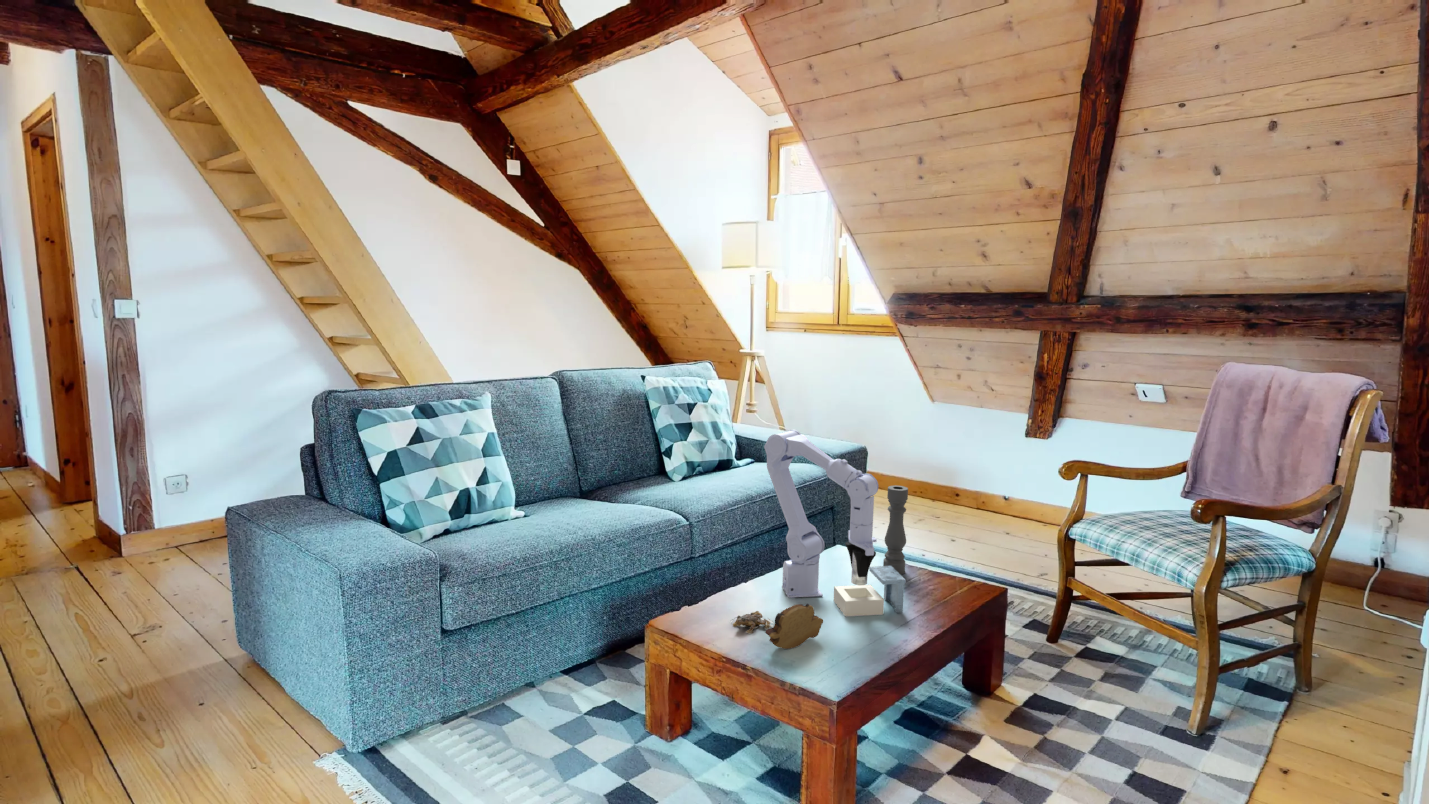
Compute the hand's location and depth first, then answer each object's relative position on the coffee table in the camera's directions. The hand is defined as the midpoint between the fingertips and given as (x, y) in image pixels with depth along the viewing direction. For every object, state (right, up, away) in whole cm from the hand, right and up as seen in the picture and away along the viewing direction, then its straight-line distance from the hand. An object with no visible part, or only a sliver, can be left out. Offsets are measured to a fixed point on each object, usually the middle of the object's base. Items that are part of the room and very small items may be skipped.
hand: (859, 573), depth 208 cm
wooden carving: (-19, -13, -20) cm, 31 cm away
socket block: (0, -9, +1) cm, 9 cm away
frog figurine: (-28, -11, -10) cm, 32 cm away
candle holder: (+15, -6, +28) cm, 32 cm away
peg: (0, -2, 0) cm, 3 cm away
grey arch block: (+7, -9, +3) cm, 12 cm away
